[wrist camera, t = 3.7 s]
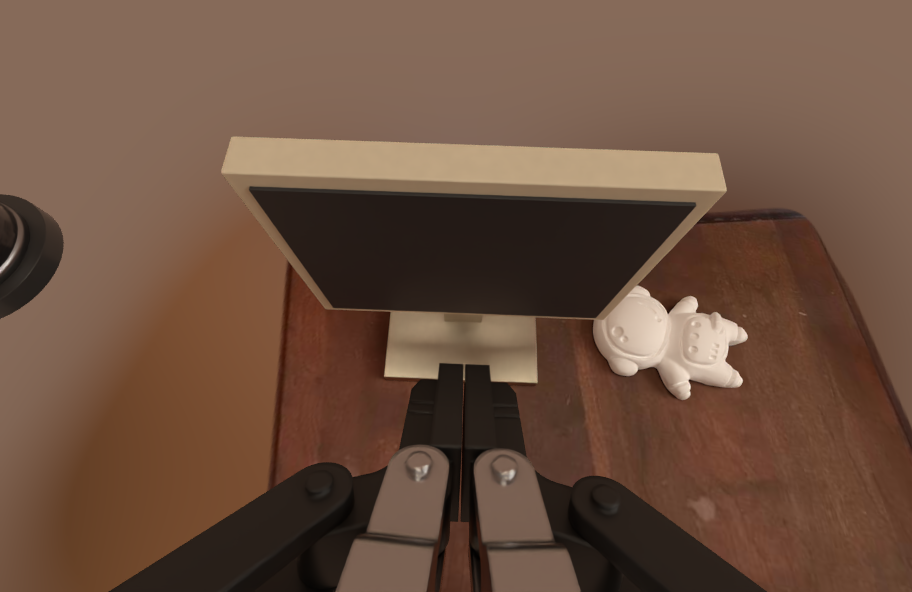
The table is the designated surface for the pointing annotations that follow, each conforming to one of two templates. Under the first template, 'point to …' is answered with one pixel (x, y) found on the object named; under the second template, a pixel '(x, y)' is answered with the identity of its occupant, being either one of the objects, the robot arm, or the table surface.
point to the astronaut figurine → (669, 342)
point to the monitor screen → (471, 221)
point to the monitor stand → (461, 346)
